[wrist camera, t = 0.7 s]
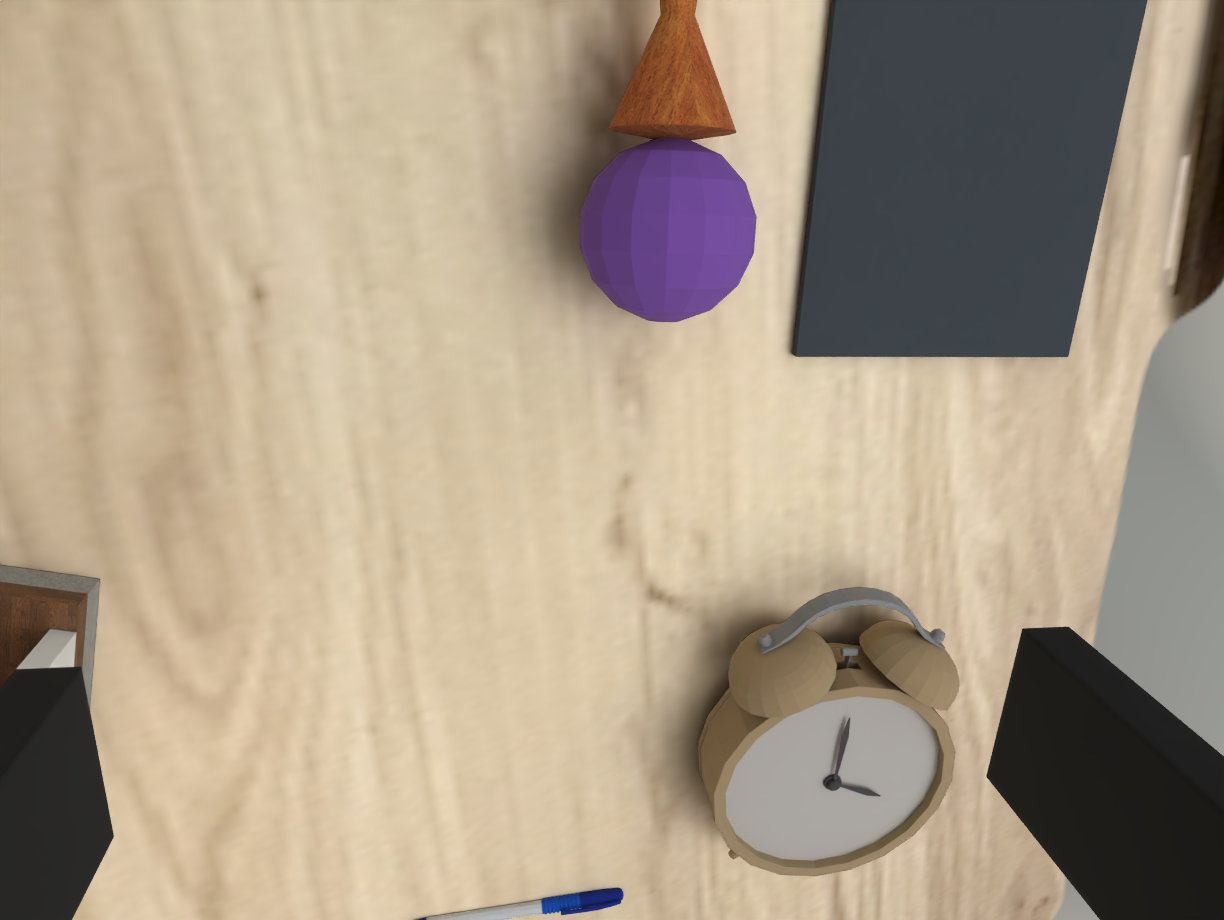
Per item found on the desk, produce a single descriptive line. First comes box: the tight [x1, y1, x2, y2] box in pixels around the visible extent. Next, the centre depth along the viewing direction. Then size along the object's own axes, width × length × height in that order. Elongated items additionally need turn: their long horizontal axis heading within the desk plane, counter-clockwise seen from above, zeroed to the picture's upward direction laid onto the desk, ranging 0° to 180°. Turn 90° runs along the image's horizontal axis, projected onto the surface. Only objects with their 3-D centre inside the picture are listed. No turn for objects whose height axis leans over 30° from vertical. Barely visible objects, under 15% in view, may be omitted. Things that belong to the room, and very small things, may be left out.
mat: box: [793, 0, 1147, 357], centre depth 32 cm, size 24×12×1 cm, turn 178°
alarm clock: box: [698, 587, 959, 876], centre depth 40 cm, size 11×5×15 cm
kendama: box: [580, 0, 756, 322], centre depth 28 cm, size 6×6×20 cm
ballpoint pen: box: [419, 888, 623, 920], centre depth 43 cm, size 10×1×1 cm, turn 94°
